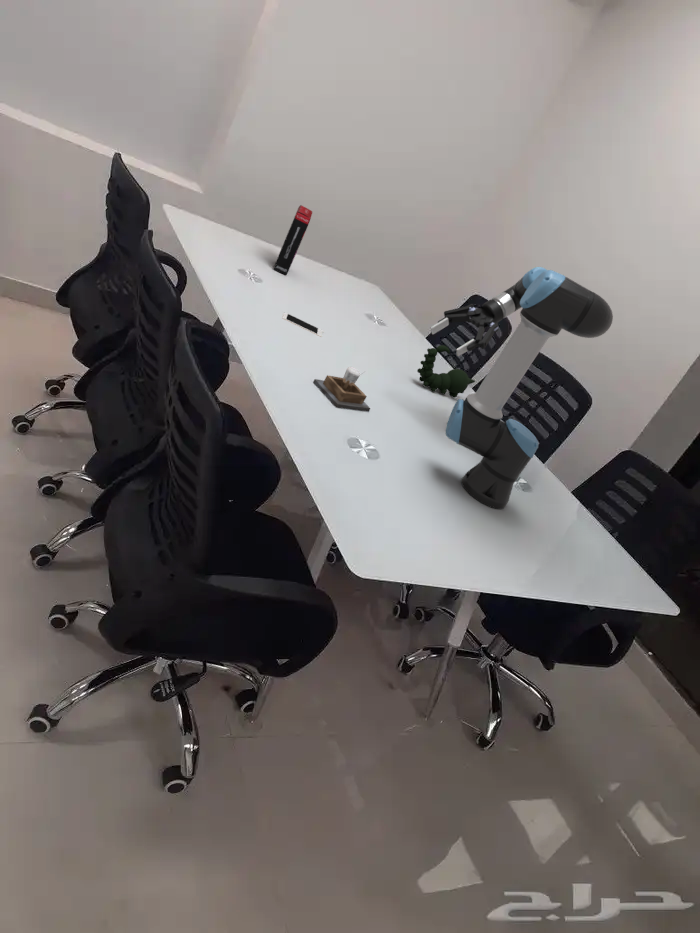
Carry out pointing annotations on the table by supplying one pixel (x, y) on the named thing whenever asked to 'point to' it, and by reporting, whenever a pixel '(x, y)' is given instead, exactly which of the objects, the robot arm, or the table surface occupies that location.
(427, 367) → the toy figurine
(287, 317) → the cell phone
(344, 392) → the socket board
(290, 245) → the graphics card box
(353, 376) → the milkshake
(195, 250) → the table surface
